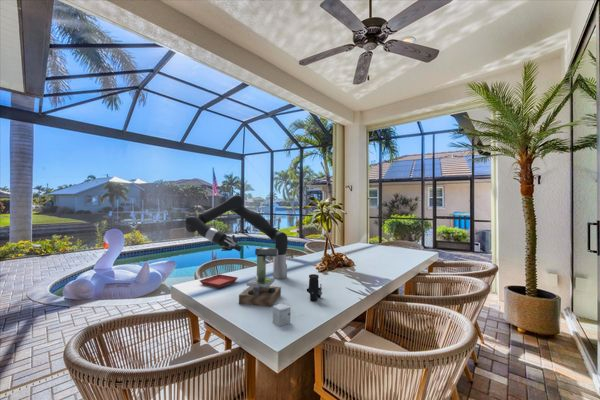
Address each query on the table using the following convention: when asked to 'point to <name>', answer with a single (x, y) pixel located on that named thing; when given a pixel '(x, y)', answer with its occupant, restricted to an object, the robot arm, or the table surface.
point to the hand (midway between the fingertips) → (240, 249)
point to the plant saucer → (218, 280)
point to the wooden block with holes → (260, 296)
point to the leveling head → (262, 267)
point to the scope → (314, 288)
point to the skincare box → (281, 314)
